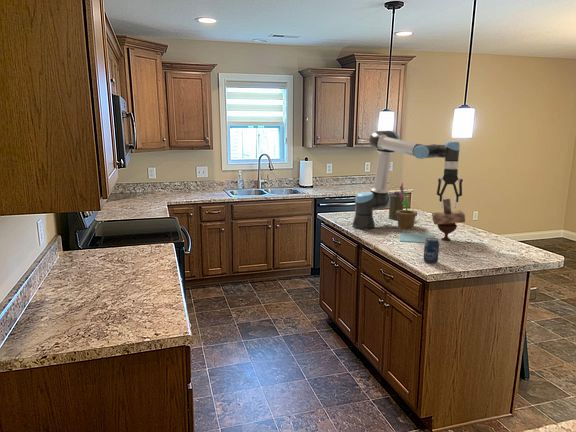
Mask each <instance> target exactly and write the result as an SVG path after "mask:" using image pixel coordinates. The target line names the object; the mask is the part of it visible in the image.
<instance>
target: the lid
mask: <svg viewBox="0 0 576 432" xmlns="http://www.w3.org/2000/svg"><path fill="white" fill-rule="evenodd" d="M431 216H432V222H433V224H434V225H437V224H449V223H455V224H458V223H466V214H465V213H464V212H463V211H462V210H452V203H451V199H450V198H445V199H444V198H443V211H437V212H432V213H431Z"/></svg>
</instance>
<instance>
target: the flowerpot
mask: <svg viewBox="0 0 576 432" xmlns="http://www.w3.org/2000/svg"><path fill="white" fill-rule="evenodd" d="M399 188H400V189H399V190H400V191H399V192H400V193H399V195H400V201H401V200H402V198H403V195H404V198H405V200H403V203H402V204H403V206H405V209H403V210H398V211H396V215H397V218H398V220H397V226H398V228H401V229H412V228H414V226H415V221H416V217H417V216H418V211H415V210H408V208H409V207H410V204H408V197H407V195H406V192H404V183H403V182H401V185H400V187H399Z"/></svg>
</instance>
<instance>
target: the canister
mask: <svg viewBox="0 0 576 432" xmlns="http://www.w3.org/2000/svg"><path fill="white" fill-rule="evenodd" d="M400 192H401V191H393V194H389V197H390V203H389V205H388V220H393V221H398V218H397V215H396V211H398V210H404V205H403V204H402V203H403V202H404V198H405V196H404V194H403V198H402V200H401V201H400Z"/></svg>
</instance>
